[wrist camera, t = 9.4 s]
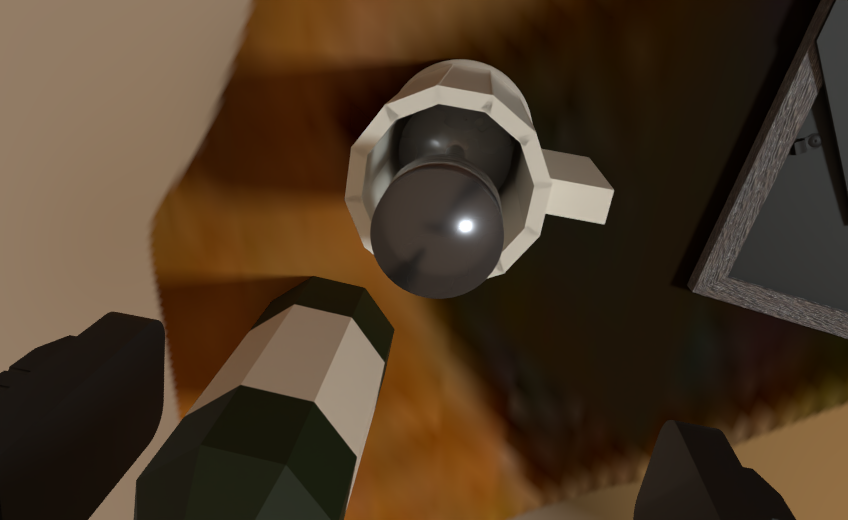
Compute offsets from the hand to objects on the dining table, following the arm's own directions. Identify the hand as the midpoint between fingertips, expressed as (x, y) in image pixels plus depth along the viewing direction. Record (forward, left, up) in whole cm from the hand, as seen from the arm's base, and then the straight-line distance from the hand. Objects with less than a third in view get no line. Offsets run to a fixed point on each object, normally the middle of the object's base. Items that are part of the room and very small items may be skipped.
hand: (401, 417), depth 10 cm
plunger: (0, 0, -22) cm, 22 cm away
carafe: (-1, 0, -27) cm, 27 cm away
